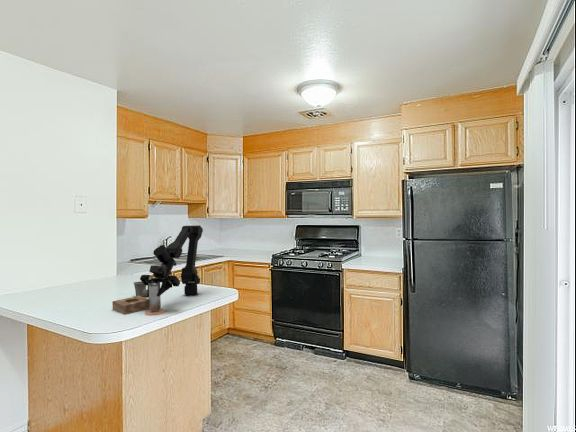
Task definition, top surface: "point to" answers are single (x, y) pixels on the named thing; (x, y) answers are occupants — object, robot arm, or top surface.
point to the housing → (131, 304)
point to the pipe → (140, 289)
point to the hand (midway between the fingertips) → (152, 295)
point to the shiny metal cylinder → (154, 296)
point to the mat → (155, 312)
